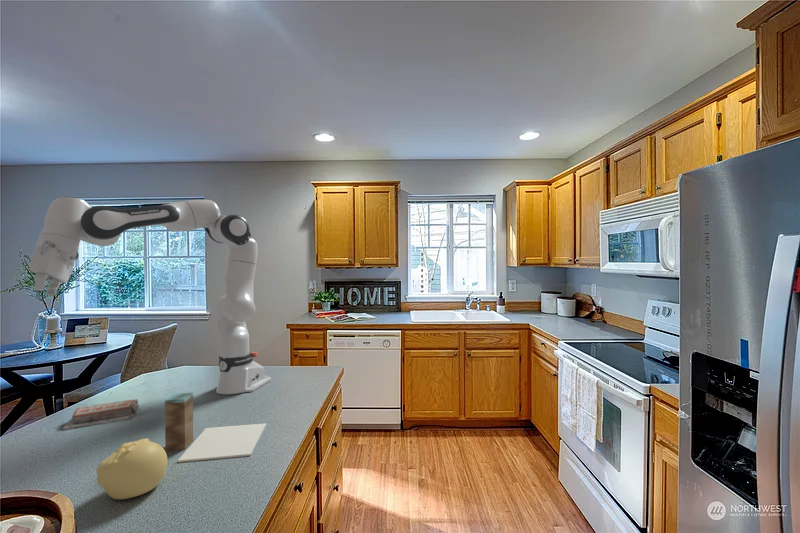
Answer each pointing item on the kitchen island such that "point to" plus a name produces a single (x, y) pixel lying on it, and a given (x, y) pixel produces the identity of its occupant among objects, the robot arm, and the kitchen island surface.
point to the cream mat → (224, 442)
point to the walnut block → (178, 421)
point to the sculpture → (132, 469)
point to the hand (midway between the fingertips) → (44, 292)
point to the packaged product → (103, 413)
